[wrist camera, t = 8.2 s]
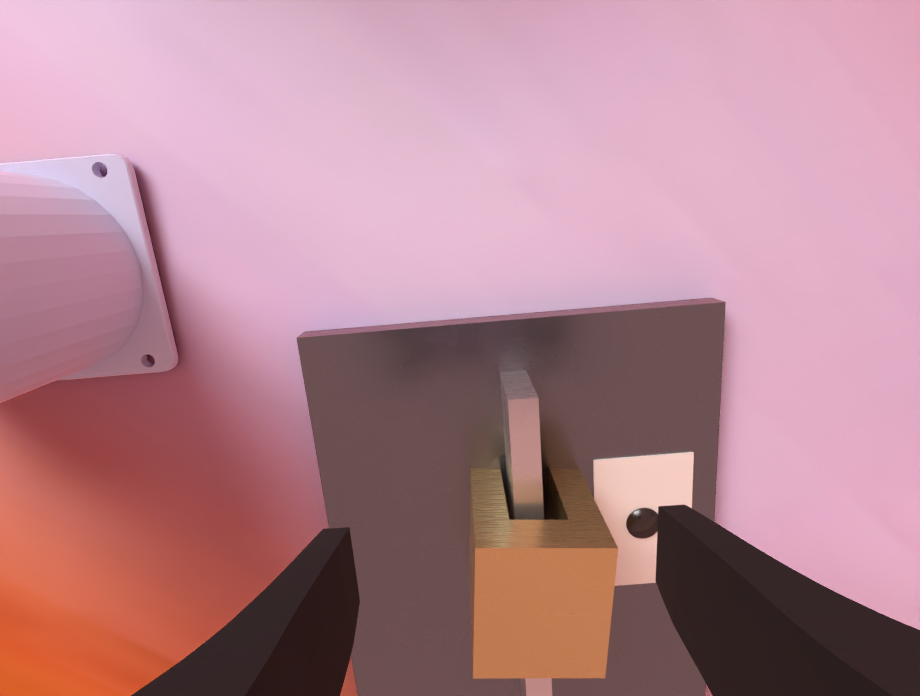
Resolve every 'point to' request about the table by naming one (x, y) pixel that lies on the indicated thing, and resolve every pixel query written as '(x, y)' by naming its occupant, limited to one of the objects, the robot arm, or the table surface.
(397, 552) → the plate
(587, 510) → the brass clip
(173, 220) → the table surface
